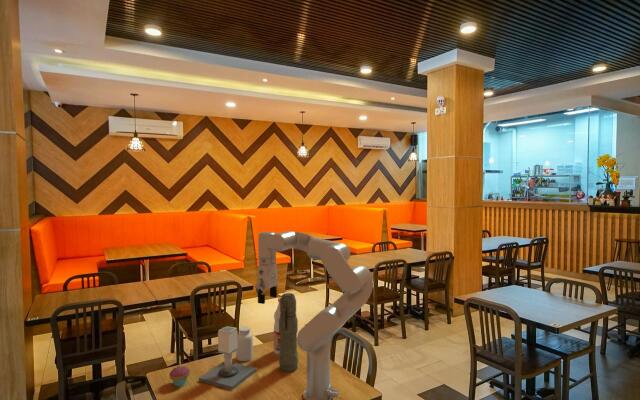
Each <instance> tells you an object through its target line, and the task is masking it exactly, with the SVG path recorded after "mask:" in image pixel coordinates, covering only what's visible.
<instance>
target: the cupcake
mask: <svg viewBox="0 0 640 400" xmlns="http://www.w3.org/2000/svg"><path fill="white" fill-rule="evenodd" d="M181 358H182V357H181V355H180V354H179V356H178V366H177V367H174V368H173V369H171V371H170V372H169V379H170V380H171V381H172V383H173V386H175V387H182V386H184V385H185V384H186V382H187V381H188V380H187V379H188V377H189V376H190V375H191V369H190V368H189V367H187V366H184V365H182V364H181Z"/></svg>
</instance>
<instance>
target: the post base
mask: <svg viewBox="0 0 640 400" xmlns="http://www.w3.org/2000/svg"><path fill="white" fill-rule="evenodd" d="M232 354H233V353H232ZM232 354H230V355H227V354H223V355H224V356H223V358H224V361H222V362H221V363H220V364H218V365H216V366H215V367H214V368H213V367H212V369H210V370H209V371H207V372H206V373H204V374H203V375H201V376H200V377H199V378H198V382H200V383H204V384H208V385H212V386H215V387H219V388H223V389H227V390H230V391H233V390H235V388H237V387H238V386H240V385H241V384H242V383H243V382H244V381H246V380H247V379H249V378H250V377H251V376H252V375H254V374H255V373H256V372H257V367H253V366H249V365H245V364H241V363H240V364H239V363H235V362H233V361H232V360H233V355H232Z"/></svg>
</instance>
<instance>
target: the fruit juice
mask: <svg viewBox="0 0 640 400" xmlns="http://www.w3.org/2000/svg"><path fill="white" fill-rule="evenodd" d="M280 299H281V297H279V298H278V299H277V301H278V302H277V308H276V310H275V312H274V314H273V318H274V319H273V320H274V323H273V353H274V354H275V355H276V356H279V354H280V333H279V318H280V314H281V312H280Z"/></svg>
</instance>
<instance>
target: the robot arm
mask: <svg viewBox="0 0 640 400" xmlns="http://www.w3.org/2000/svg"><path fill="white" fill-rule="evenodd" d="M257 241H258V242H257V243H258V245H257V247H258V248H257V249H258V250H257V251H258V252H257V253H258V257H257V258H258V259H257V260H258V261H257V263H258V269H257V281H256V284H255V286H254V288H255V292H256V294H257V303H258V304H262V305H264V304H265V303H266V294H265V292H266V290H269V297H270V298H277V297H278V292H277V291H278V290H277V289H278V284H279V274H278V273H279V271H278V265H277V252H283V251H287V250H290V249H295V250H300V251H303V252H305V253H306V254H307V257H308V258H309V259H312V260H316V261H321V263H322V265H323V267H324V269H325V270H326V271H327V273H328V275H330V277H331V278H332V280H334V281H333V282H335V283H336V285H337V286H338V287H339V289H340V290H342V291H343V292H344V293H342V295H340V296H339V298H338V299H336V300H335V301H334V302H333V303H331V304H329V305H328V306H327V307H325V308H323V309H322V310H321V311H319V312H318V313H316V315H315V316H314V317H312V318H311V319H310V320H309V321H308V322H307V323H306V324H305V325H304V326H303V327H302V328H301V329H299V331H298V332H297V346H298V347H299V348H300V349H301V351H304V352H306V388H305V389H304V390H303V392H302V397H303V399H304V400H331V399H332V398H333V399H334V398H337V399H338V398H340V393H339V389H336V388H333V384H332V383H331V344H332V337H333V336H334V335H335V333H337V332H338V331H339V330H340V329H341V328H343V326H344V325H345V324H346V322H348V320H349V319H350V318H352V316H354V315H355V314H356V313H357V312H358V311H359V310H360V309H361V308H362V307H363V306H364V305H365V304H366V303H367V301H368V300H369V298H370V296H372V295H371V294H372V292H373V287H374V279H373V275H372V273H371V271H370V269H369V268H368V267H366V266H364V265H355V266H353V267H351V265H350V264H349V263H348V261H349V259H350V257H351V250H350V248H349V247H348V246H347V244H345V243H342V242H338V241H332V240H328V239H324V238H318V237H315V236H312V235H309V234H307V233H304V232H303V233H302V232H298V231H294V230H288V231H283V232H282V231H281V232H278V233H275V232H273V231H261V232H259V233H258V239H257ZM333 399H332V400H333Z"/></svg>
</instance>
